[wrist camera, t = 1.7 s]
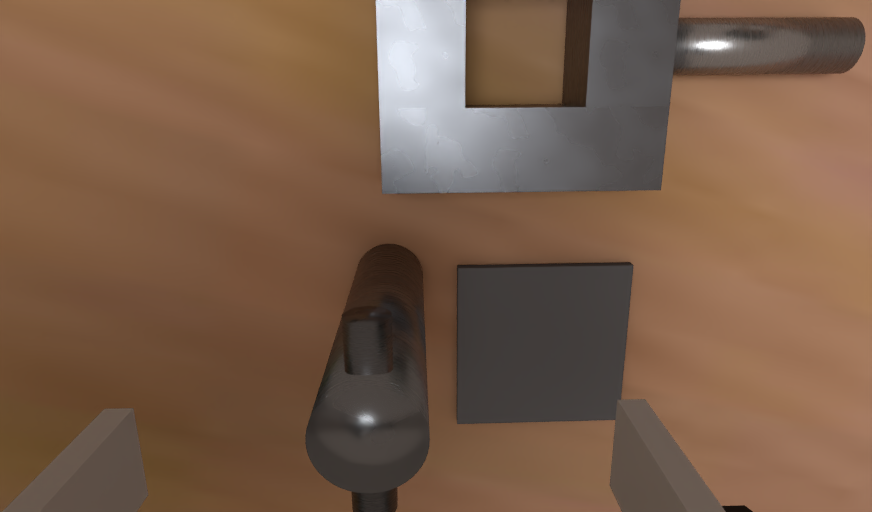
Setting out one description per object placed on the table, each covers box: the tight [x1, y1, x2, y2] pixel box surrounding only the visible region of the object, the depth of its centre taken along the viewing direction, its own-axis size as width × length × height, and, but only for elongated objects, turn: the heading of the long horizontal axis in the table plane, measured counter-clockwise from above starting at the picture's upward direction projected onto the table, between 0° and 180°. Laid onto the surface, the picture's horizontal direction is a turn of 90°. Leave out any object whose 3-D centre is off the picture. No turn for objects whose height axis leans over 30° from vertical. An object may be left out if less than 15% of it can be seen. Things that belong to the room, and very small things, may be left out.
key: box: [306, 244, 430, 512], centre depth 23 cm, size 3×6×14 cm, turn 0°
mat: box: [457, 262, 633, 424], centre depth 31 cm, size 9×9×1 cm
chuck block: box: [376, 0, 865, 194], centre depth 25 cm, size 21×12×4 cm, turn 90°
